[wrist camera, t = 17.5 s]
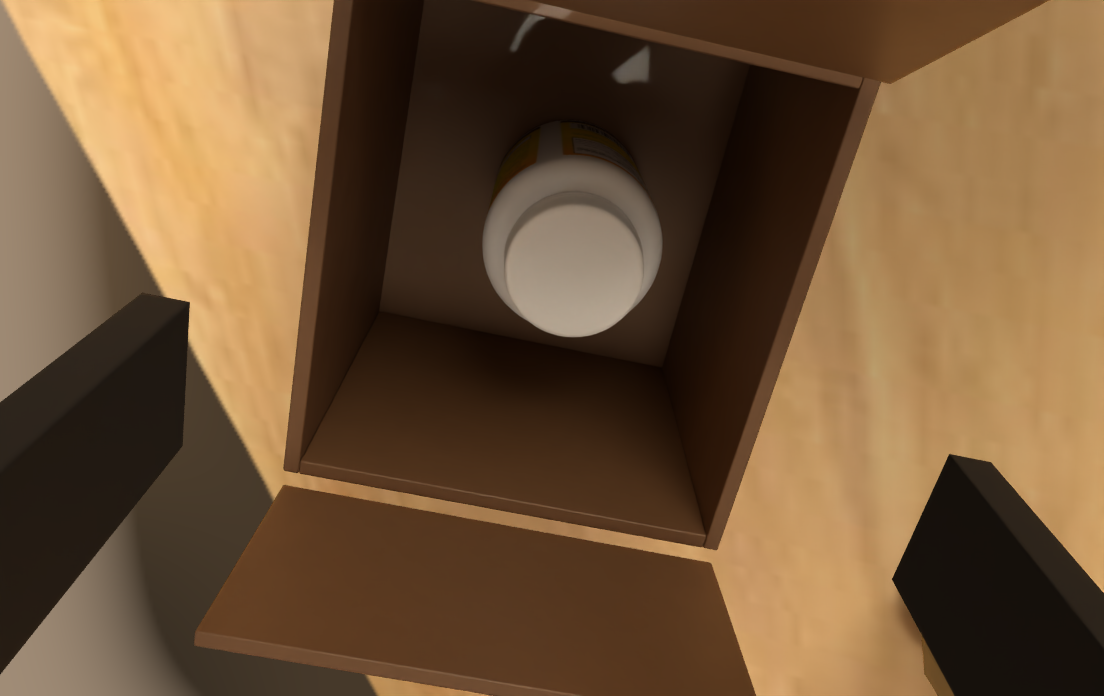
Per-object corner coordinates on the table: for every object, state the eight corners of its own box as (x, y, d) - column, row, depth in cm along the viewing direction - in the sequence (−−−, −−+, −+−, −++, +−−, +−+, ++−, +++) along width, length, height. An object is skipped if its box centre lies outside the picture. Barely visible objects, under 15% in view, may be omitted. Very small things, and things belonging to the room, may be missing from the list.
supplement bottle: (509, 268, 35) (492, 375, 26) (484, 128, 33) (456, 190, 24) (647, 248, 35) (681, 350, 25) (632, 106, 33) (663, 160, 23)
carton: (419, -43, 31) (237, -63, 13) (767, 38, 32) (1026, 118, 14) (366, 332, 37) (189, 666, 19) (663, 391, 38) (757, 760, 20)
